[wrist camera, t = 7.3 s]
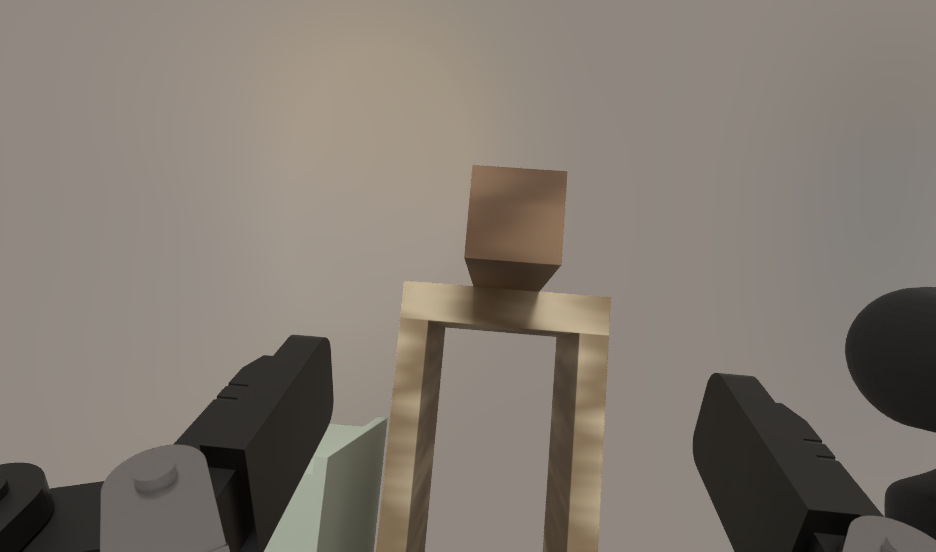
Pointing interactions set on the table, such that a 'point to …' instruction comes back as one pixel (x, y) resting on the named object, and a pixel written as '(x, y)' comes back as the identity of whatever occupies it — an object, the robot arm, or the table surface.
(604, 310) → the birch bridge
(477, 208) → the walnut block
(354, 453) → the pale green upright block
